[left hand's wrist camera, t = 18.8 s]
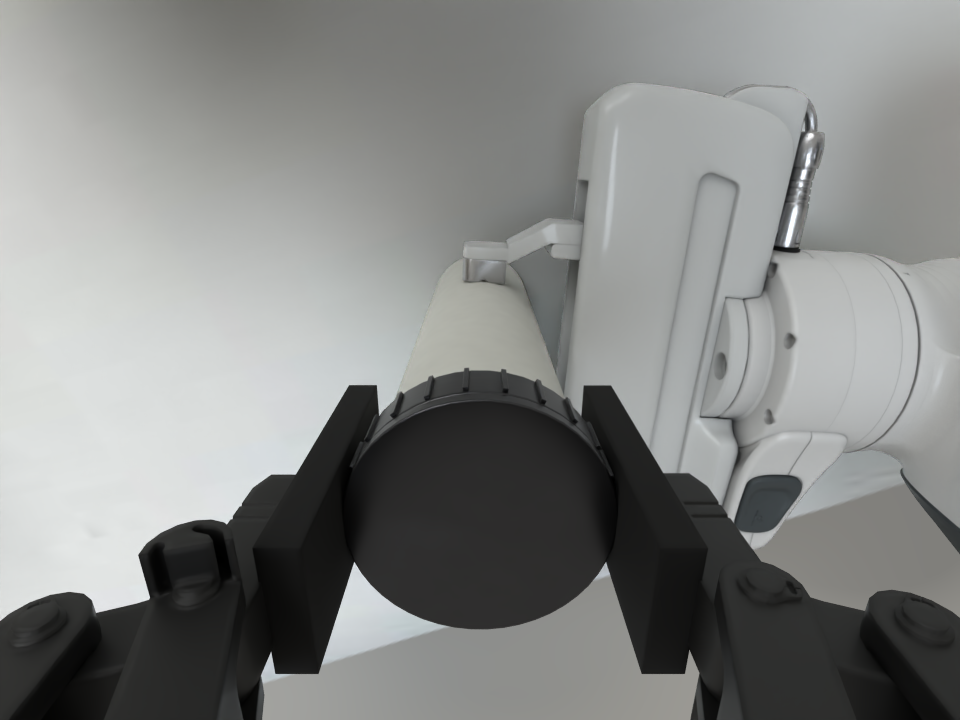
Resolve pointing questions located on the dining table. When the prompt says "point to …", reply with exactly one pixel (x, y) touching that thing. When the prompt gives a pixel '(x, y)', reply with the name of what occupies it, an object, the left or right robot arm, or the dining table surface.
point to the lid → (480, 501)
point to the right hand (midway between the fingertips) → (459, 334)
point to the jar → (479, 332)
